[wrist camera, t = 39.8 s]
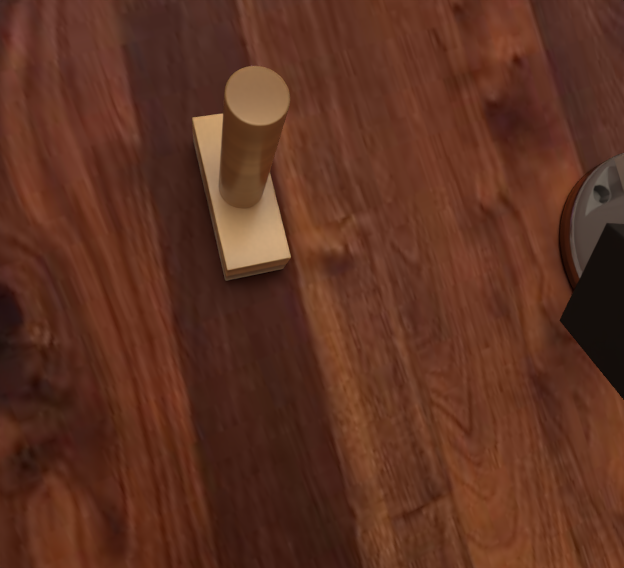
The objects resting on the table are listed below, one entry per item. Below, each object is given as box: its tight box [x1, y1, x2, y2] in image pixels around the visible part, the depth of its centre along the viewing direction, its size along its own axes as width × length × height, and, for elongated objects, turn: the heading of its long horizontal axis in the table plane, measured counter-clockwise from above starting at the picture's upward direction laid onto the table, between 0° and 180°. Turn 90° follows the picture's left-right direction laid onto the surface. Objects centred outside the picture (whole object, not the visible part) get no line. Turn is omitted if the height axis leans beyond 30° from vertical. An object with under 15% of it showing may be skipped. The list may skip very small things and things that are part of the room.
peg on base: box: [192, 66, 291, 281], centre depth 30 cm, size 10×4×14 cm, turn 14°
